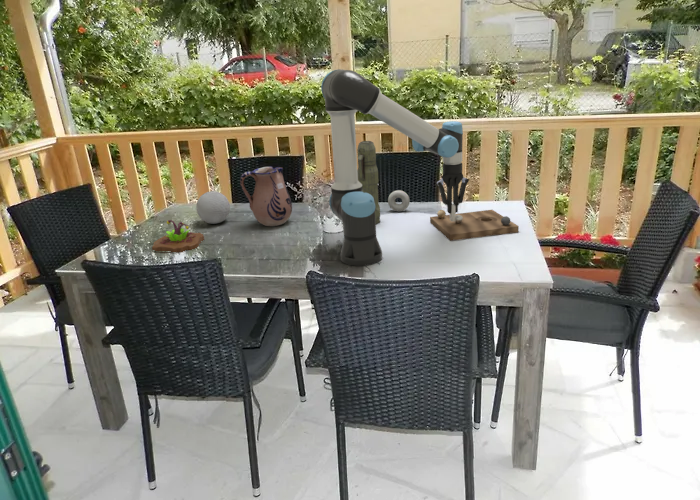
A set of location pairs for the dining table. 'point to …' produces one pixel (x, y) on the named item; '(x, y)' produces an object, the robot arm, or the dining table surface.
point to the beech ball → (441, 213)
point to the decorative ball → (213, 207)
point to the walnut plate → (473, 225)
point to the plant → (178, 239)
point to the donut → (394, 205)
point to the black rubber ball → (505, 220)
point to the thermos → (368, 172)
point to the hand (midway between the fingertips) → (452, 220)
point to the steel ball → (459, 219)
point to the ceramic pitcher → (269, 196)
